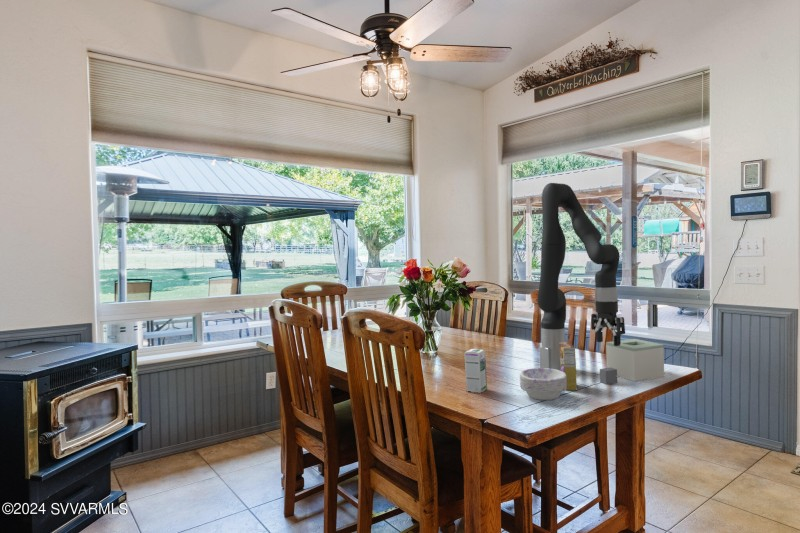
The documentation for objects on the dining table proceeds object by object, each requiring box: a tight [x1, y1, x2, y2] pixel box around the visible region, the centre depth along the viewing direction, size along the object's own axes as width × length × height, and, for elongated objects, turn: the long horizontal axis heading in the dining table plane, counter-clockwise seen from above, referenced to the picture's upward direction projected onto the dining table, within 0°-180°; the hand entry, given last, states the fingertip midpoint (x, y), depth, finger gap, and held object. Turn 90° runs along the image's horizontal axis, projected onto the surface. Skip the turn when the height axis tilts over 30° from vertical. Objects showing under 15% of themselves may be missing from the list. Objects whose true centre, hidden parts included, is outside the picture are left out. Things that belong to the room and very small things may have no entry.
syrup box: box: [464, 348, 488, 394], centre depth 173 cm, size 6×6×14 cm
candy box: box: [559, 341, 578, 391], centre depth 173 cm, size 9×4×15 cm, turn 171°
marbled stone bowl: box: [519, 367, 567, 401], centre depth 164 cm, size 15×15×8 cm
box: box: [605, 338, 665, 382], centre depth 185 cm, size 14×14×12 cm
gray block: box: [599, 367, 618, 385], centre depth 176 cm, size 5×3×5 cm, turn 109°
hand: (608, 343), depth 176 cm, fingers open, 8 cm apart
